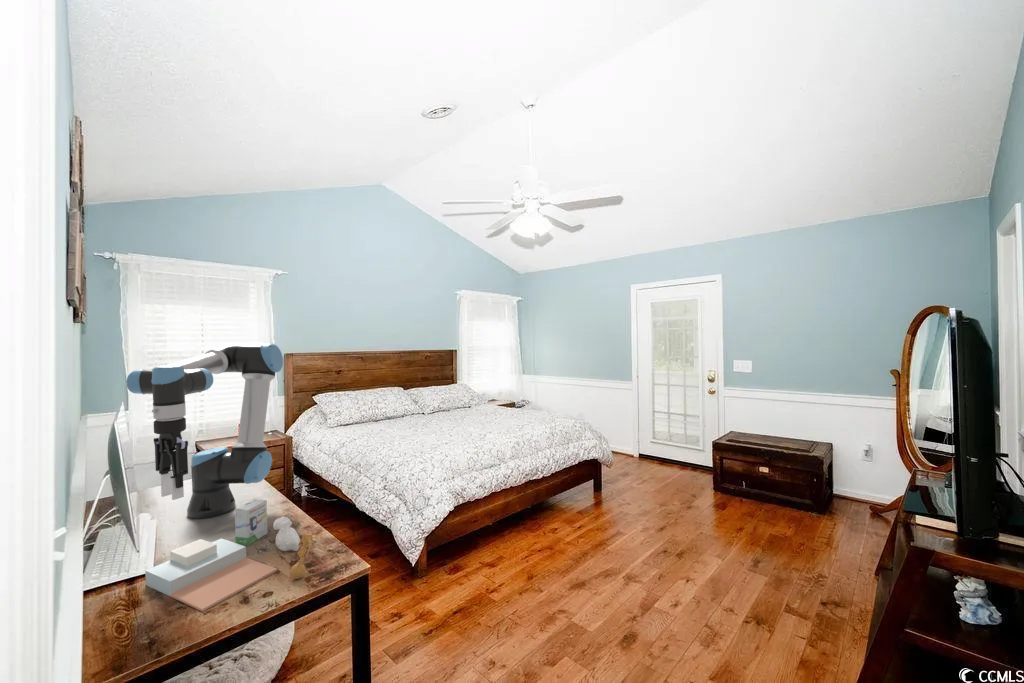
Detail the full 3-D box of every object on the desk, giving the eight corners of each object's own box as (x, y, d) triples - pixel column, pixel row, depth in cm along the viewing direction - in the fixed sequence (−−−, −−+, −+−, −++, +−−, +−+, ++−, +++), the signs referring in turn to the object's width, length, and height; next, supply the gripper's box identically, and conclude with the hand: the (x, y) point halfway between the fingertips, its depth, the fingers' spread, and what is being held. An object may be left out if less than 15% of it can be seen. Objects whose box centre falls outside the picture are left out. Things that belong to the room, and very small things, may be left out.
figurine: (286, 574, 125) (285, 532, 124) (308, 566, 128) (308, 526, 128) (294, 587, 118) (293, 543, 118) (317, 579, 122) (316, 536, 122)
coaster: (200, 547, 132) (200, 538, 132) (216, 552, 129) (216, 544, 129) (170, 559, 125) (170, 551, 125) (186, 566, 122) (186, 557, 122)
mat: (246, 559, 133) (246, 557, 133) (277, 570, 126) (277, 568, 126) (170, 596, 115) (170, 594, 115) (202, 611, 108) (202, 609, 108)
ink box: (255, 532, 150) (254, 498, 150) (268, 533, 149) (267, 499, 149) (234, 544, 142) (233, 508, 141) (248, 546, 141) (247, 509, 140)
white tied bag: (282, 547, 144) (258, 527, 139) (302, 528, 148) (278, 507, 143) (292, 563, 135) (265, 541, 130) (312, 541, 138) (287, 520, 134)
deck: (221, 551, 138) (221, 538, 138) (246, 559, 133) (245, 546, 132) (145, 584, 120) (145, 570, 120) (170, 596, 115) (170, 581, 115)
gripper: (138, 418, 131) (141, 496, 131) (172, 423, 123) (175, 506, 124) (167, 413, 137) (170, 487, 138) (201, 418, 129) (204, 497, 130)
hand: (172, 496), depth 131 cm, fingers open, 5 cm apart
